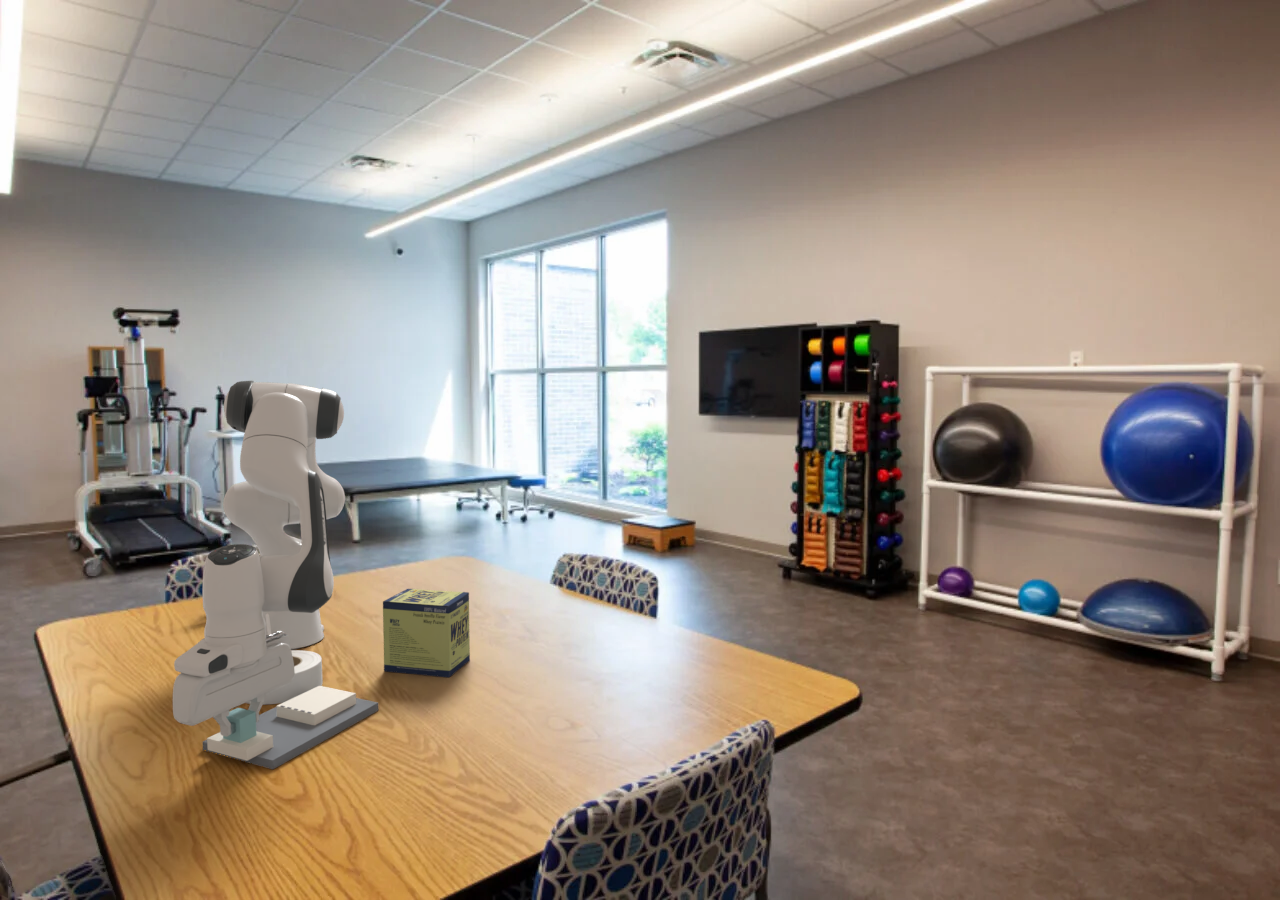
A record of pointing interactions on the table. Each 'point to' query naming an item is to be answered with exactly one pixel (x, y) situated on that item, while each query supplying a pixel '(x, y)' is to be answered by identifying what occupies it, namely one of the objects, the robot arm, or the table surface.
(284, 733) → the desk mat
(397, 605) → the protein box
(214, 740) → the cube on white base
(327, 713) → the pad
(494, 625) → the table surface
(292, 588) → the robot arm
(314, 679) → the roll of tape
